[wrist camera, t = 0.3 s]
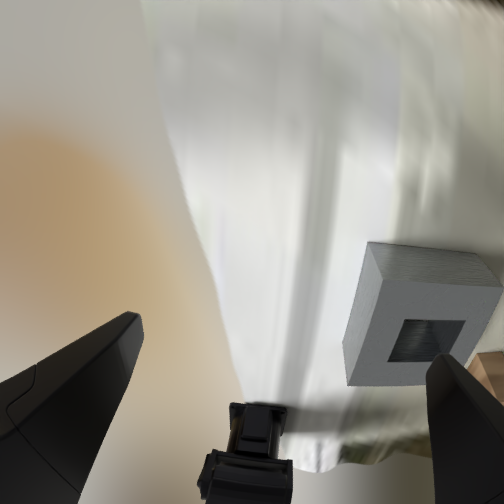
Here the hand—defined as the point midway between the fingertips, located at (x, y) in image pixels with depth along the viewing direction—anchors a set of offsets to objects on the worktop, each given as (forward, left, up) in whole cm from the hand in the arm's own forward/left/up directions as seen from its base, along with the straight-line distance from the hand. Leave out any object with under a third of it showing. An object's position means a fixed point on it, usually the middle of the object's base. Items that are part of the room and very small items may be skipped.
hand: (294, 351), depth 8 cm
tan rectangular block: (-16, -24, -14) cm, 32 cm away
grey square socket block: (-8, -11, -14) cm, 20 cm away
